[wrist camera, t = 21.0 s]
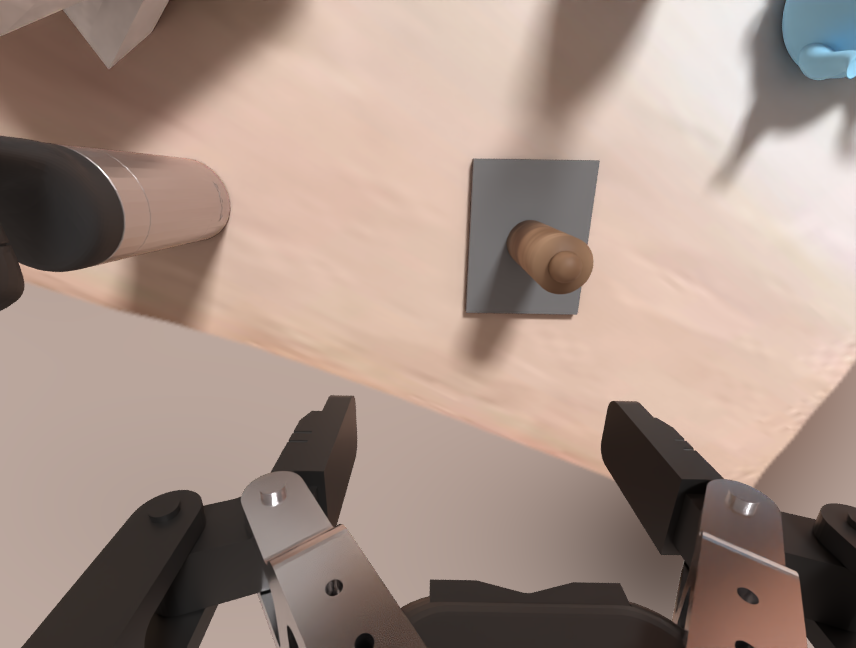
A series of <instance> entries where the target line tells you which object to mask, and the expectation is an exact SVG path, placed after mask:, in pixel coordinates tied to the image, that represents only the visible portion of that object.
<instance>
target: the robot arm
mask: <svg viewBox="0 0 856 648" xmlns="http://www.w3.org/2000/svg"><path fill="white" fill-rule="evenodd" d="M229 213H230V200H229V196H228V192H227V190H226V188H225V186H224V184H223V182H222V181H221V179H220V178H219V176H218V175H217V174H216V173H215V172H214V171H213V170H212V169H210V168H209V167H207V166H206V165H204V164H202V163H200V162H198V161H196V160H191V159H187V158H178V157H169V156H161V155H152V154H143V153H133V152H124V151H115V150H106V149H97V148H87V147H76V146H67V145H58V144H51V143H42V142H38V141H34V140H28V139H22V138H14V137H6V136H0V311H1V310H3V309H5V308H7V307H8V306H10V305H11V304H13V303H14V302H16V301H17V300H18V299H19V298H20V297H21V295H22V294H23V291H24V279H23V275H22V272H21V269H20V266H19V263H21V264H23V265H26V266H29V267H32V268H35V269H38V270H43V271H52V272H66V271H73V270H79V269H83V268H87V267H91V266H95V265H99V264H104V263H108V262H112V261H116V260H120V259H124V258H128V257H132V256H137V255H141V254H145V253H149V252H154V251H158V250H162V249H166V248H171V247H175V246H179V245H183V244H188V243H192V242H196V241H200V240H205V239H209V238H211V237H213V236H215V235H217V234H218V233H219V232H220V231H221V230H222V229H223V228H224V226H225V225H226V223H227V220H228V218H229ZM18 262H19V263H18ZM356 426H357V425H356V406H355V398H354V396H334V395H331V396H330V397H329V398H328V400H327V402H326V404H325V406H324V408H323V410H322V411H311V412H310V413H309V414H307V415H306V416H305V417H303V418H302V419H301V420H300V421H299V423H298V425H297V426H296V428H295V430H294V433H293V434H292V435H291V437H290V439H289V442H288V443H287V444H286V446H285V448H284V449H283V451H282V453H281V455H280V457H279V459H278V460H277V462H276V464H275V466H274V467H273V469H272V471H271V473H268V474H265V475H263V476H260V477H259V478H257V479H255V480H254V481H252V482H251V483H250V484H249V485H248V486H247V487H246V488H245V489H244V491H243V493H242V496H241V497H239V498H236V499H233V500H228V501H223V502H219V503H214V504H209V505H205V506H203V503H202V500H201V497H200V496H199V495H198V494H197V493H196V492H193V491H189V490H178V491H172V492H168V493H165V494H162V495H159V496H157V497H155V498H153V499H151V500H149V501H148V502H146V503H145V504H143V505H142V506H140V507H139V508H138V509H137V510H136V511H135V512H134V513H133V514H132V515H131V516H130V518H129V519H128V520H127V521H126V523H125V524H124V525H123V526H122V527H121V528H120V530H119V531H118V532H117V533H116V534H115V536H114V537H113V538H112V539H111V541H110V542H109V543H108V544H107V545H106V546H105V548H104V549H103V550H102V552H100V554H99V555H98V556H97V557H96V558H95V560H94V561H93V562H92V563H91V564H90V566H89V567H88V568H87V569H86V571H85V572H84V573H83V574H82V575H81V577H80V578H79V579H78V580H77V581H76V583H75V584H74V585H73V586H72V587H71V589H70V590H69V591H68V592H67V593H66V595H65V596H64V597H63V598H62V599H61V601H60V602H59V603H58V604H57V606H56V607H55V608H54V609H53V610H52V611H51V613H50V614H49V615H48V616H47V618H46V619H45V620H44V621H43V622H42V623H41V625H40V626H39V627H38V628H37V630H36V631H35V632H34V633H33V634H32V635H31V637H30V638H29V639H28V640H27V641H26V643H25V644H24V645H23V646H22V647H21V648H199V646H200V644H201V641H202V639H203V637H204V635H205V632H206V630H207V628H208V626H209V624H210V621H211V619H212V617H213V615H214V612H215V610H216V608H217V606H218V604H221V603H224V602H228V601H231V600H235V599H238V598H242V597H245V596H249V595H252V594H255V593H257V594H258V597H259V600H260V603H261V605H262V608H263V611H264V614H265V617H266V620H267V623H268V625H269V628H270V631H271V634H272V637H273V640H274V643H275V646H276V648H808V647H807V639H806V637H807V638H808V640H809V641H810V642H811V644H812V645H813V646H814V647H815V648H856V508H855V507H852V506H848V505H843V504H826V505H824V506H823V507H822V508H821V510H820V513H819V515H818V517H817V519H816V520H815V519H811V518H806V517H802V516H797V515H793V514H789V513H785V512H780V510H779V508H778V507H777V505H776V504H775V503H774V502H773V501H772V500H771V499H770V498H769V497H767V496H766V495H765V494H763V493H762V492H760V491H758V490H756V489H754V488H752V487H750V486H748V485H746V484H743V483H740V482H737V481H732V480H727V479H724V478H723V477H722V476H721V475H720V474H719V473H718V472H717V471H716V470H715V469H714V468H713V467H712V466H711V465H710V464H709V463H708V462H707V461H706V460H705V459H704V458H703V457H702V456H701V455H700V454H699V453H698V452H697V451H694V450H693V447H692V446H691V445H690V444H689V443H688V442H687V441H684V438H683V437H682V436H681V435H680V434H679V433H678V432H677V431H676V430H675V429H674V428H673V427H671V426H669V425H668V424H666V423H664V422H663V421H661V420H659V419H658V418H654V417H653V416H652V415H651V414H650V413H649V412H648V411H647V410H646V409H645V408H644V407H643V406H642V405H641V404H640V403H639V402H636V401H612V402H610V404H609V406H608V409H607V415H606V420H605V425H604V431H603V436H602V441H601V454H602V459H603V461H604V464H605V466H606V467H607V469H608V470H609V472H610V474H611V475H612V477H613V478H614V480H615V482H616V483H617V485H618V486H619V488H620V490H621V491H622V493H623V495H624V496H625V498H626V499H627V501H628V502H629V504H630V506H631V507H632V509H633V511H634V512H635V514H636V515H637V517H638V519H639V520H640V522H641V524H642V525H643V527H644V528H645V530H646V532H647V533H648V535H649V536H650V538H651V539H652V541H653V543H654V544H655V546H656V547H657V549H658V551H659V552H660V554H661V555H681V556H682V557H683V559H684V564H683V567H682V570H681V575H680V580H679V585H678V590H677V596H676V601H675V607H674V612H673V617H672V621H671V620H669V619H668V618H666V617H664V616H662V615H661V614H659V613H657V612H655V611H653V610H650V609H648V608H646V607H643V606H641V605H638V604H635V603H632V602H629V601H628V599H627V597H626V595H625V593H624V591H623V589H622V587H621V585H620V583H576V582H575V583H574V582H573V583H569V584H565V585H562V586H557V587H553V588H550V589H546V590H542V591H538V592H534V593H522V592H518V591H514V590H510V589H506V588H503V587H499V586H495V585H492V584H488V583H484V582H480V581H471V580H430V596H429V597H425V598H421V599H419V600H416V601H413V602H411V603H409V604H407V605H405V606H403V607H402V608H400V607H399V605H398V604H397V602H396V601H395V599H394V598H393V596H392V595H391V593H390V592H389V590H388V589H387V587H386V586H385V584H384V583H383V581H382V580H381V578H380V577H379V575H378V574H377V572H376V571H375V569H374V568H373V566H372V565H371V563H370V562H369V561H368V559H367V558H366V556H365V555H364V553H363V552H362V550H361V549H360V547H359V546H358V544H357V543H356V541H355V540H354V538H353V537H352V535H351V534H350V532H349V531H348V529H347V528H346V527H345V526H344V525H342V524H339V525H337V522H338V518H339V515H340V511H341V508H342V504H343V501H344V497H345V493H346V490H347V486H348V483H349V479H350V475H351V472H352V468H353V465H354V461H355V457H356V451H357V427H356ZM336 525H337V526H336Z"/></svg>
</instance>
